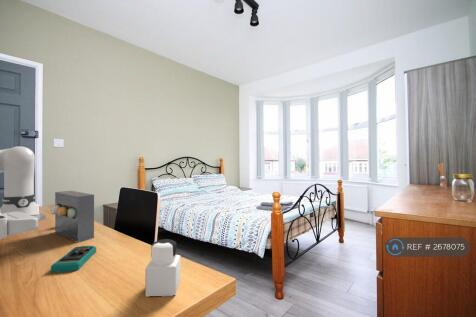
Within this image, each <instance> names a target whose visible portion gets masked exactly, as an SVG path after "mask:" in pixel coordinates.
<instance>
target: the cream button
mask: <svg viewBox="0 0 476 317" xmlns="http://www.w3.org/2000/svg"><path fill="white" fill-rule="evenodd" d="M60 207H61V206H60V205H55V204H54V205H52V206H51V207H50V211H51V214H52V215H55V214H57V209H58V208H60Z"/></svg>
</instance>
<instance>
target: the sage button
mask: <svg viewBox="0 0 476 317" xmlns="http://www.w3.org/2000/svg"><path fill="white" fill-rule="evenodd" d="M67 215H68V217H69V218H73V217H75V208H72V209H68V211H67Z"/></svg>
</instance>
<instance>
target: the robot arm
mask: <svg viewBox="0 0 476 317" xmlns="http://www.w3.org/2000/svg"><path fill="white" fill-rule="evenodd" d="M35 162H36V156H35V153H34V152H33V150H32V149H31V148H28V147H27V146H26V147H25V146H13V147H11V148H4V149H0V174H1V173H3V176H4V177H3V185H4V186H3V189H4V190H3V195H4V196H3V197H2V206H0V240H2V239H6V238H8V236H14V235H18V234H21V233H27V232H30V231H34V230H35V229H37V228H39V221H42V220H46V218H47V217H46V215H45V214H43V213H40V208H39V207H40V206H39V204H38V203H36V202H35V201H36V194H35V192H34V191H35V167H36V166H35V164H36V163H35Z"/></svg>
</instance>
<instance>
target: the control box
mask: <svg viewBox="0 0 476 317" xmlns="http://www.w3.org/2000/svg"><path fill="white" fill-rule="evenodd" d="M54 202H55V203H54V206H55V205H60V206H61V207H67V209H72V208H75V217H73V218H69V217H68V215H65V216H58V214H54V216H55V219H54V220H55V221H54V225H55V226H54V232H55V233H56V234H58V235H60V236H62V237H64V238H67V239H69V240H72V241H74V242H76V243H80V242H83V241H87V240H92V239H94V238H95V194H91V193H86V192H80V191H75V190H64V191H55V192H54Z"/></svg>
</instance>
